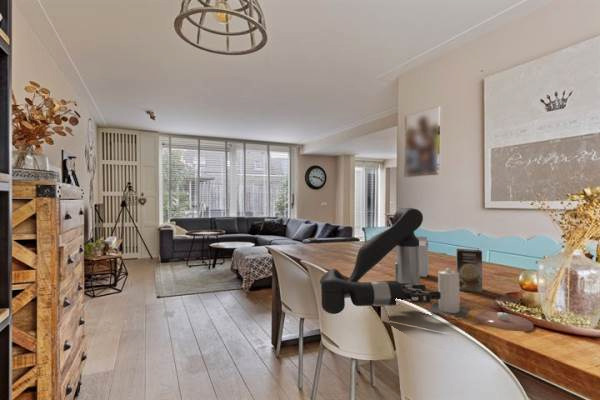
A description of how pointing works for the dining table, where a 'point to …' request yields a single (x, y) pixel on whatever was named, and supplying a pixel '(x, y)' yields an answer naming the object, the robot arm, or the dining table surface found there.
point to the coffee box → (469, 269)
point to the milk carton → (423, 256)
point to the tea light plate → (505, 321)
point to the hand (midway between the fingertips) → (432, 291)
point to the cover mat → (461, 313)
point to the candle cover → (449, 291)
